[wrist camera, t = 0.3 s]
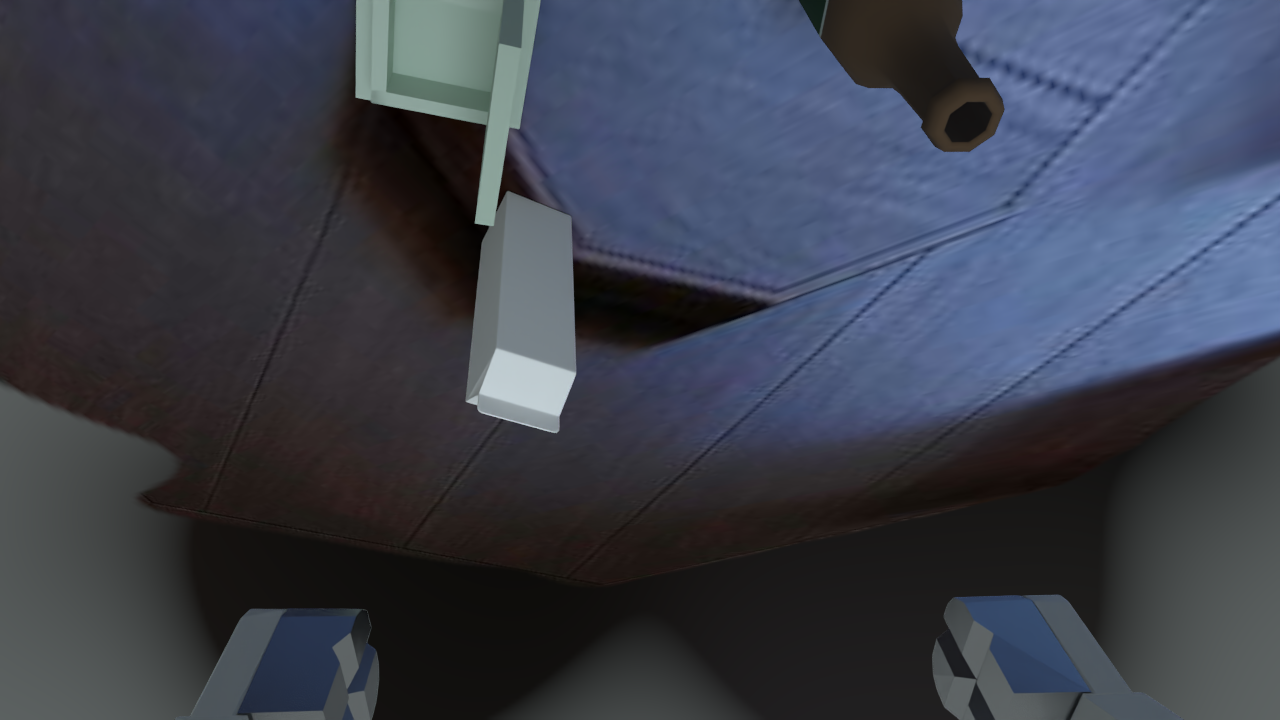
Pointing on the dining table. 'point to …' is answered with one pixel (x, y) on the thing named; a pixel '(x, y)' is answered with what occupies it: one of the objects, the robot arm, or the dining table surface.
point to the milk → (524, 316)
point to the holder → (451, 67)
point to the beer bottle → (913, 63)
